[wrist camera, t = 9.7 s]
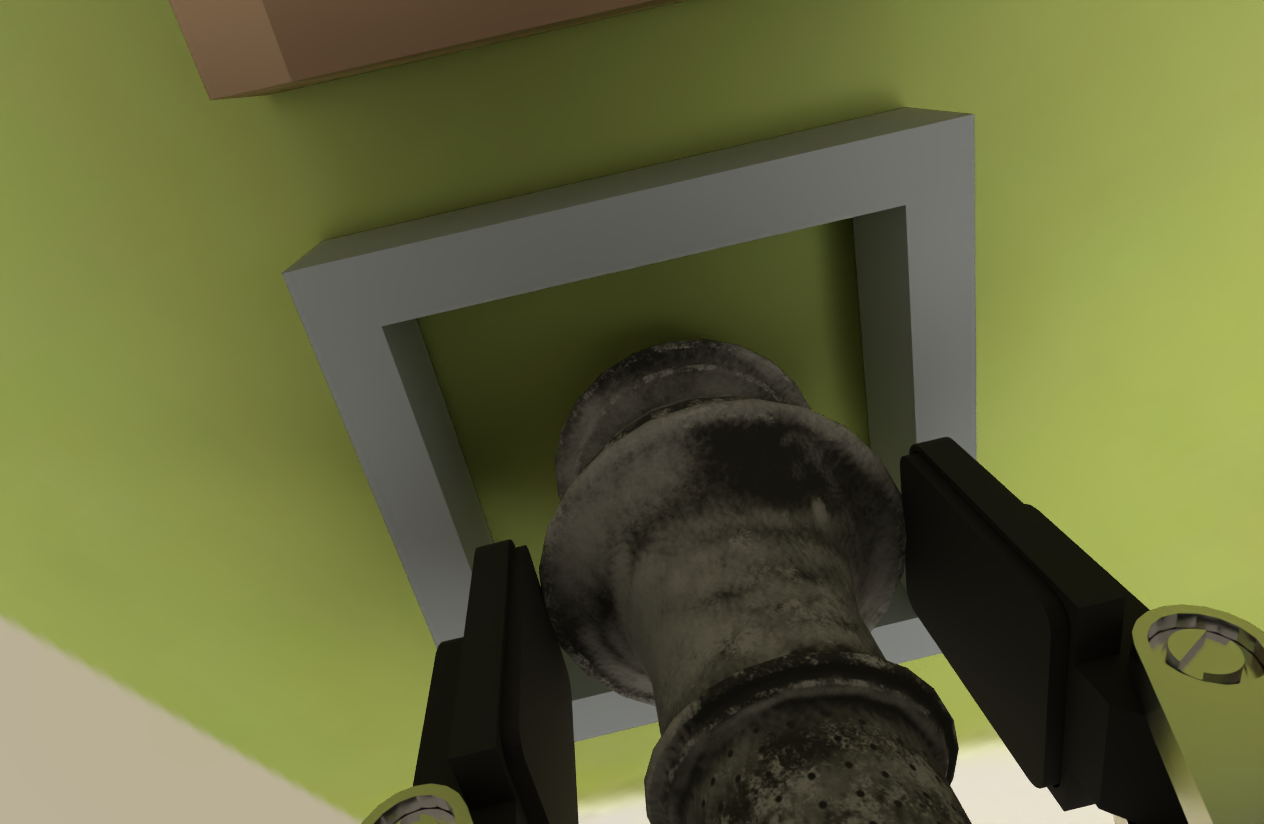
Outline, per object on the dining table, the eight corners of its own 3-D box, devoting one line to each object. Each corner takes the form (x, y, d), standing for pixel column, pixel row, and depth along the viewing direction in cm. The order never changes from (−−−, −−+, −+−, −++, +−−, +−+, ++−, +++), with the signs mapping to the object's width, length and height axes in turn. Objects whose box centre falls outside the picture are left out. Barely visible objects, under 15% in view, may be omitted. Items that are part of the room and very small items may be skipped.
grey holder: (322, 240, 14) (281, 273, 12) (906, 107, 14) (974, 114, 12) (491, 681, 19) (484, 763, 17) (926, 577, 19) (977, 644, 17)
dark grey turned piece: (619, 624, 17) (766, 1682, 6) (483, 409, 14) (289, 1553, 3) (867, 512, 16) (1545, 1446, 5) (772, 269, 14) (1680, 1080, 3)
